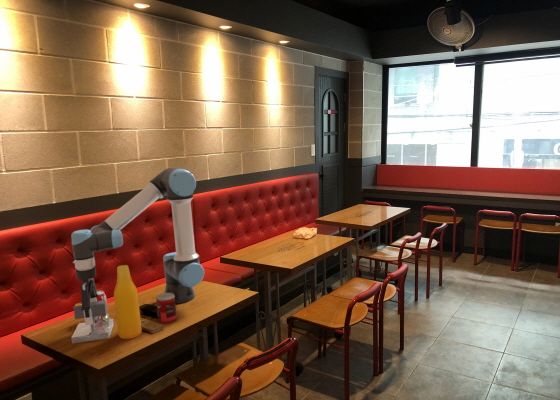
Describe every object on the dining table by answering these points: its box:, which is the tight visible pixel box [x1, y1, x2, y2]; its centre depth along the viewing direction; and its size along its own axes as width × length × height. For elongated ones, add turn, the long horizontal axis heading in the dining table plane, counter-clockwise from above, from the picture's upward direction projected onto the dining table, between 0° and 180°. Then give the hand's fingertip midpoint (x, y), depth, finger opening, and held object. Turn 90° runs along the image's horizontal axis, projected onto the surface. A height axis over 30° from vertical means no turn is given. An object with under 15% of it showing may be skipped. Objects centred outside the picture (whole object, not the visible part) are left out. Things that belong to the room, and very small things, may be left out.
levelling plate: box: [71, 313, 115, 344], centre depth 191 cm, size 14×14×5 cm
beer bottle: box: [113, 264, 143, 340], centre depth 186 cm, size 9×9×29 cm
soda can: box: [94, 290, 109, 321], centre depth 206 cm, size 7×7×12 cm
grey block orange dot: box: [73, 300, 108, 328], centre depth 190 cm, size 12×4×11 cm, turn 102°
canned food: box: [155, 292, 178, 324], centre depth 201 cm, size 8×8×11 cm
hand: (91, 318), depth 191 cm, fingers open, 11 cm apart
